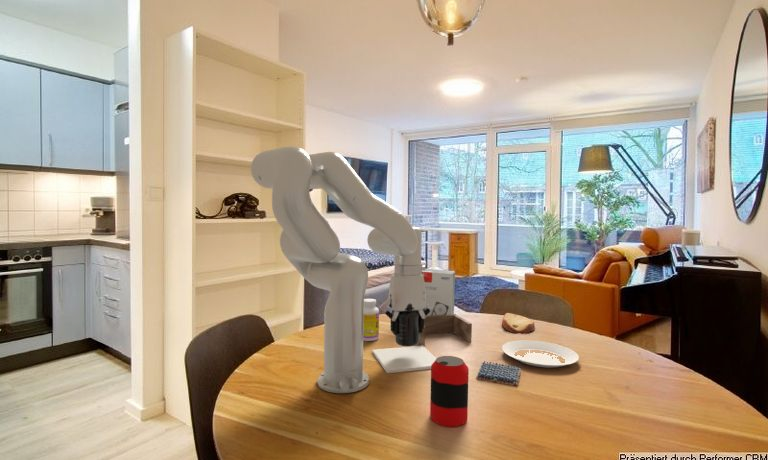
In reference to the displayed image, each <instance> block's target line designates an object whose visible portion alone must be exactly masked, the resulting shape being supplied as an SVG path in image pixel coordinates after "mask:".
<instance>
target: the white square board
mask: <svg viewBox="0 0 768 460" xmlns="http://www.w3.org/2000/svg"><path fill="white" fill-rule="evenodd" d="M371 351H372V354H373V356H374V357H375V359H376V360H377V361H378V363H379V365H381V366H382V368H383V369H384V372H386V374H393V373H394V374H395V373H403V372H404V373H405V372H413V371H423V370H425V371H426V370H431V365H432V364H433V363H434V361H435V360H436V359H437V358H438V357H436V356H435V355H434V354H433V353H431V352H430V351H429V350H428V349H427V348H426V347H425V346H421V345H415V346H400V347H390V348H388V347H387V348H377V349H376V348H375V349H372V350H371Z"/></svg>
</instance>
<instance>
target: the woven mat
mask: <svg viewBox="0 0 768 460" xmlns="http://www.w3.org/2000/svg"><path fill="white" fill-rule="evenodd" d="M516 366H517V365H514V366H513V365H510V364H508V365H507V364H504V363H498V362H491V361H490V362H488V361H487V362H486V361H485V360H484V361H483V362H481V364H480V368H479V371H478V373H477V376H476V377H475V378H476V380H480V381H486V382H494V383H499V384H505V385H510V386H519V385H520V384H519V382H520V378H521V373H522V372H521V368H520V366H517V367H516Z"/></svg>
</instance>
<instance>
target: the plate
mask: <svg viewBox="0 0 768 460" xmlns="http://www.w3.org/2000/svg"><path fill="white" fill-rule="evenodd" d="M501 349H502V352H504V354H506V355H507V356H509V357H511V358H513V359H515V360H517V362H520V363H522V364H524V365H525V364H526V365H528V366H533V367H538V368H539V367H540V368H547V369H549V368H559V367H564V366H568V365H572V364H575V363H577V362H578V361H579V359H580V356H579V354H578V353H577V352H575V351H574V350H572V349H571V348H569V347H566V346H562V345H560V344H557V343H553V342H549V341H548V342H547V341H542V340H536V339H535V340H534V339H533V340H532V339H531V340H530V339H529V340H528V339H522V340H521V339H520V340H519V339H518V340H512V341H507V342H505V343H504V344H503V345H502V346H501ZM519 350H529V353H528V352H527V354H526V353H525V354H526V355H524V357H522V356H520V355H517V356H515V355H514V354H515V352H517V351H519ZM530 350H540V351H546V352H550V353H553V354H556V355H558V356H561V357H562V358H563V359H565V363H561V362H560V361H559V359H557V357H558V356H555V355H552V356H550V354H549V355H547V354H548V353H544V354H542V353H543V352H542V353H535V352H533V353H530ZM552 357H553V359H552ZM555 357H556V358H555Z"/></svg>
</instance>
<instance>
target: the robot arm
mask: <svg viewBox="0 0 768 460" xmlns="http://www.w3.org/2000/svg"><path fill="white" fill-rule="evenodd" d="M250 173H251V174H250V175H251V176H252V179H253V180H254V181H255V183H257V184H258V185H259V186H261V187H262V188H266V189H271V207H272V209H271V210H272V214H273V215H274V218H275V220H276V222H277V224H278V225H279V226H280V227H281V228H282V230H281V233H280V236H279V246H280V248H281V251H282V253H283V256H284V257H285V258H286V259H287V260H288V261H289V263H290V264H291V265H292V266H293V267H294V269H296V270H297V272H298V273H299V274H300V275H301V276H302V277H303V278H304V279H305V280H306V281H307V283H309V284H310V285H311V286H313V287H315V288H317V289H320V290H321V289H322V290H325V291H328V292H329V296H328V298H327V300H326V303H325V305H324V311H323V312H324V315H323V322H324V324H323V325H324V328H323V329H324V331H323V335H324V337H323V338H324V339H323V340H324V342H323V344H324V345H323V362H324V363H323V372H322V373H321V374H320V375H319V376H318V377H317V386H318V387H319V388H320V389H321V390H323V391H326V392H328V393H333V394H349V393H350V394H351V393H354V392H358V391H361V390H363V389H365V388H366V387H367V386H368V385H369V384H370V376H369V375H368V373H367V372H365V371H364V341H363V312H364V299H365V297H366V289H367V286H368V285H367V284H368V280H369V270H368V267H367V265H366V264H365V262H364V261H363V260H362V259H361V258H359V257H358V256H355V255H352V254H347V253H342V252H341V253H340V250H341V244H340V243H341V242H340V240H339V237H338V235H337V233H336V232H335V231H334V230H333V228H332V227H331V226H330V224H329V223H328V222H327V221H326V219H325V218H324V217H323V215H322V214H321V213H320V211H319V210H318V208H316V206H315V205H314V202H313V201H312V199H311V194H310V190H319V189H320V190H323V191H324V192H325V193H326V194H327V195H328V197H329V198H331V200H332V201H333V202H334V203H335V205H336V206H337V207H338V208H339V209H340V210H341V211H342V213H343V214H344V215H345V216H346V217H348V218H349V219H351V220H353V221H355V222H358V223H361V224H363V225H366V226H369V227H371V228H372V230H371V231H370V232H369V233H368V234H367V245H368V248H370V250H371V251H372V252H375V253H376V254H380V255H388V256H390V255H391V256H394V270H393V271H394V273H393V274H391V277H390V280H389V281H390V282H389V288H388V289H389V290H388V298H387V299H386V300H385V301H384V302H382V304H381V305H380V306H379V308H380V310H381V311H382V312H383V313H384V314H385V315H386V316H387V317H388V318H389V319H390V331H391V332H392V333H391V334H393V335H394V336H395V335H397V334H398V321H396V318H397V316H398V314H399V312H401V311H406V310H405V308H407V305H408V304H409V305H410V303H411V304H412V308H414V309H412V310H414V311H416V310H417V311H418V313H419V332H420V333H422V332H423V329H424V319H425V318H426V315H427V314H428V313H429V312H430V310H431V309H432V308H433V307H434V303H433V302H432V301H430V300H429V299H428V298H427V297H426V290H425V282H424V277H423V275H422V274H421V273H422V271H423V270H426V269H427V267H426V265H423V264H422V230H421V228H420V227H418V226H413V225H411V223H410V221H409V220H408V219H407V217H406V216H405V215H403V213H402V212H401V211H399V210H398V209H397V208H395V207H394V206H392V205H391V204H389V203H387V202H386V201H385V200H383V199H382V198H380V197H378V196H377V195H375V194H374V193H372V191H371V190H370V189H369V187H368V186H367V185H366V184H365V182H364V181H363V179H362V178H361V177H360V176H359V175H358V174H357V173H358V172H356V171H355V169H354V168H353V167H352V166H351V164H350V163H349V162H348V160H347V159H346V158H345V157H344V156H343V155H341V154H340V153H339V152H335V151H326V152H325V151H324V152H317V153H313V154H311V153H310V154H309V153H308V152H307V151H306V150H304V149H303V148H300V147H298V146H285V147H284V146H283V147H278V148H274V149H269V150H264V151H262V152H259V153H258V154H257V155H256V156H255V157H254V158H253V159H252V161H251V164H250ZM426 303H427V307H426ZM425 307H426V308H425ZM388 308H390V309H391V311H389V310H388Z"/></svg>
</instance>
